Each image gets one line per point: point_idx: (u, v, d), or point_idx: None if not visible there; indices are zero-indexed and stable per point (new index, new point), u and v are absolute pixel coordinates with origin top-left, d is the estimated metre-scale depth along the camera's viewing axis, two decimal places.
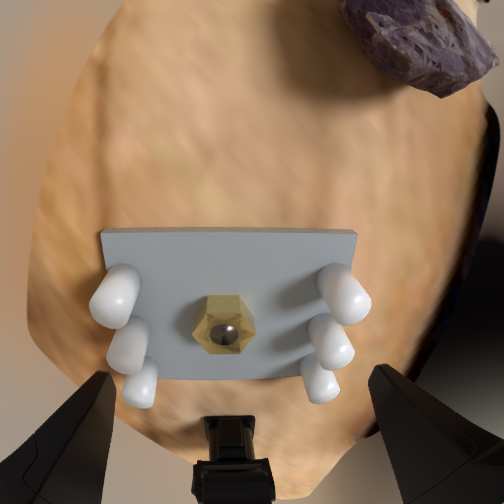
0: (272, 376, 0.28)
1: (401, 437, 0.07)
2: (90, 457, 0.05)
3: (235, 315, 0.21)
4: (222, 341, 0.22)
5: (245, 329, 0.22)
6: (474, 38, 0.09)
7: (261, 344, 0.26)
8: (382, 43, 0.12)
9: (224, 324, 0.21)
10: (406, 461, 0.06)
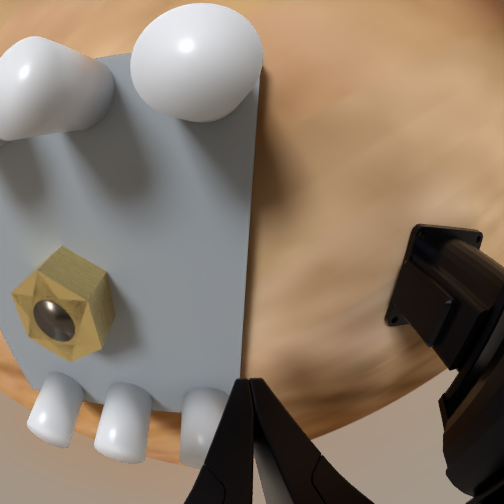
0: (244, 189, 0.11)
1: (263, 466, 0.06)
2: None
3: (17, 300, 0.09)
4: (66, 326, 0.10)
5: (33, 287, 0.09)
6: None
7: (126, 224, 0.11)
8: None
9: (35, 319, 0.10)
10: (269, 494, 0.05)
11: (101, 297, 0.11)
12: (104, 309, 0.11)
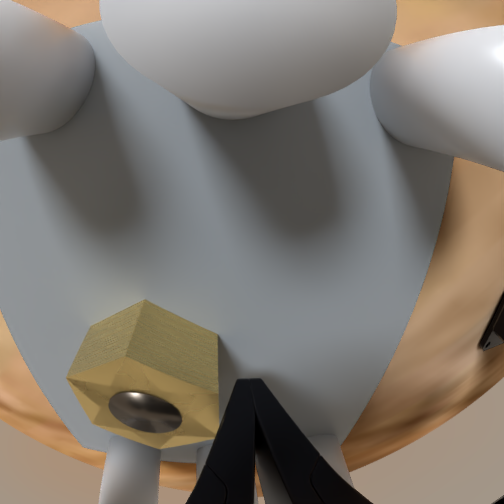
0: (433, 232, 0.08)
1: (262, 466, 0.06)
2: None
3: (77, 387, 0.06)
4: (167, 419, 0.07)
5: (112, 376, 0.06)
6: None
7: (291, 273, 0.08)
8: None
9: (110, 409, 0.07)
10: (268, 494, 0.05)
11: None
12: None
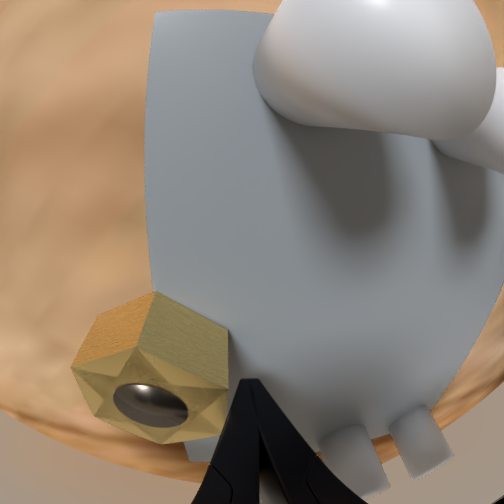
0: None
1: None
2: None
3: (81, 377, 0.06)
4: (173, 414, 0.07)
5: (121, 367, 0.06)
6: None
7: (455, 267, 0.09)
8: None
9: (114, 402, 0.07)
10: (265, 495, 0.05)
11: None
12: None
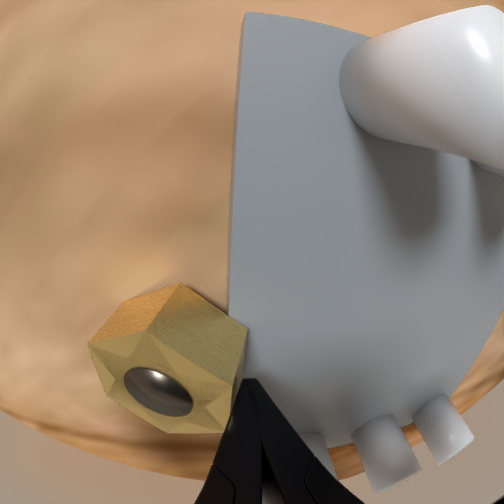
0: None
1: None
2: None
3: (97, 355, 0.07)
4: (178, 403, 0.07)
5: (131, 350, 0.07)
6: None
7: (481, 264, 0.10)
8: None
9: (124, 383, 0.07)
10: (263, 495, 0.05)
11: (239, 368, 0.08)
12: (238, 381, 0.08)
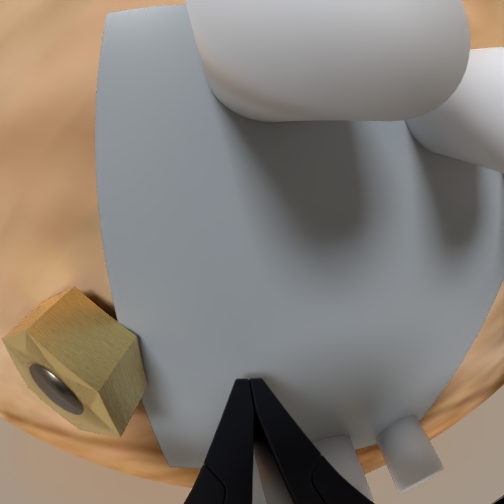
0: None
1: (263, 466, 0.06)
2: None
3: (10, 350, 0.06)
4: (71, 402, 0.06)
5: (25, 347, 0.06)
6: None
7: (443, 274, 0.09)
8: None
9: (32, 377, 0.07)
10: (269, 494, 0.06)
11: (124, 375, 0.07)
12: (128, 388, 0.07)
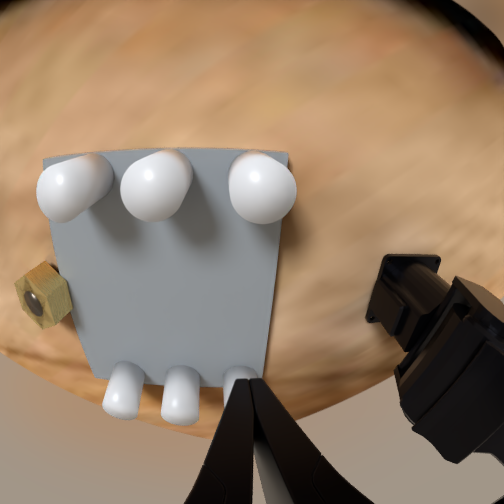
0: (275, 240, 0.18)
1: (263, 466, 0.06)
2: None
3: (17, 288, 0.16)
4: (38, 307, 0.16)
5: (23, 283, 0.16)
6: None
7: (199, 259, 0.18)
8: None
9: (25, 300, 0.17)
10: (269, 494, 0.06)
11: (59, 295, 0.17)
12: (61, 303, 0.17)
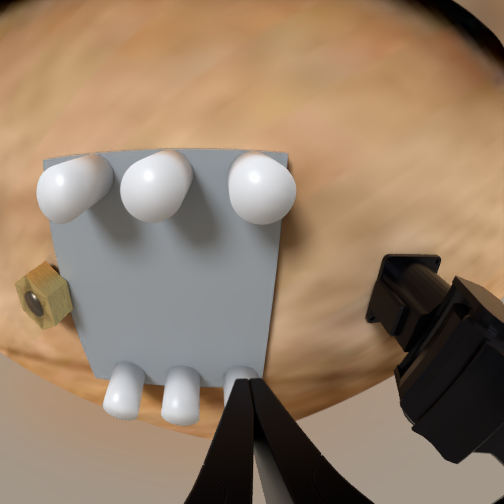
0: (275, 240, 0.18)
1: (263, 466, 0.06)
2: None
3: (17, 288, 0.16)
4: (39, 308, 0.16)
5: (24, 283, 0.16)
6: None
7: (199, 260, 0.18)
8: None
9: (25, 300, 0.17)
10: (269, 494, 0.06)
11: (59, 296, 0.17)
12: (61, 303, 0.17)
